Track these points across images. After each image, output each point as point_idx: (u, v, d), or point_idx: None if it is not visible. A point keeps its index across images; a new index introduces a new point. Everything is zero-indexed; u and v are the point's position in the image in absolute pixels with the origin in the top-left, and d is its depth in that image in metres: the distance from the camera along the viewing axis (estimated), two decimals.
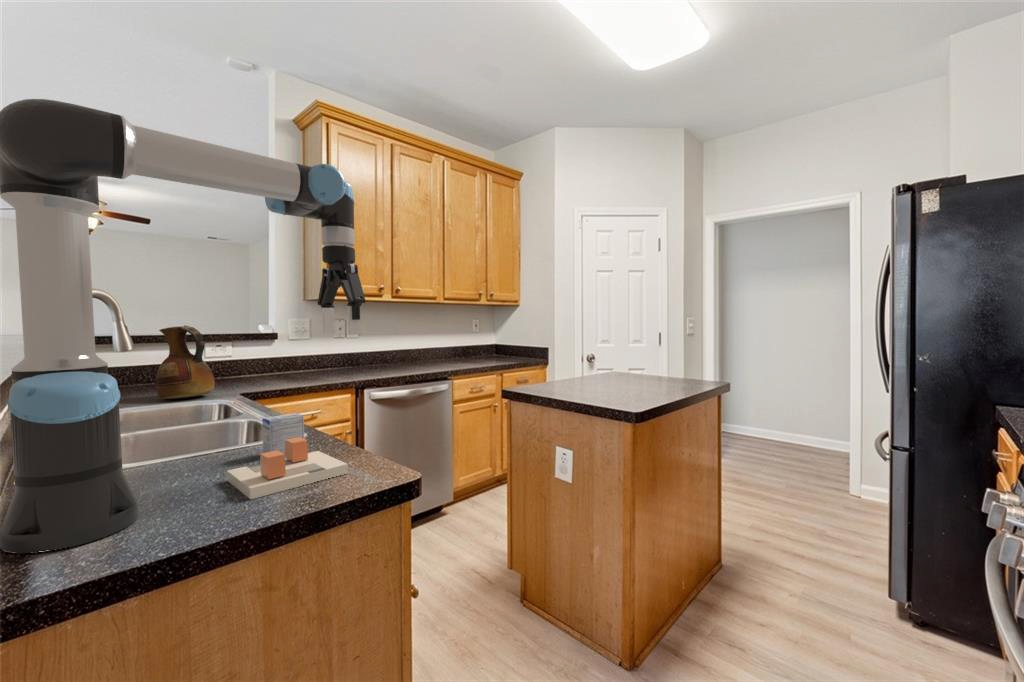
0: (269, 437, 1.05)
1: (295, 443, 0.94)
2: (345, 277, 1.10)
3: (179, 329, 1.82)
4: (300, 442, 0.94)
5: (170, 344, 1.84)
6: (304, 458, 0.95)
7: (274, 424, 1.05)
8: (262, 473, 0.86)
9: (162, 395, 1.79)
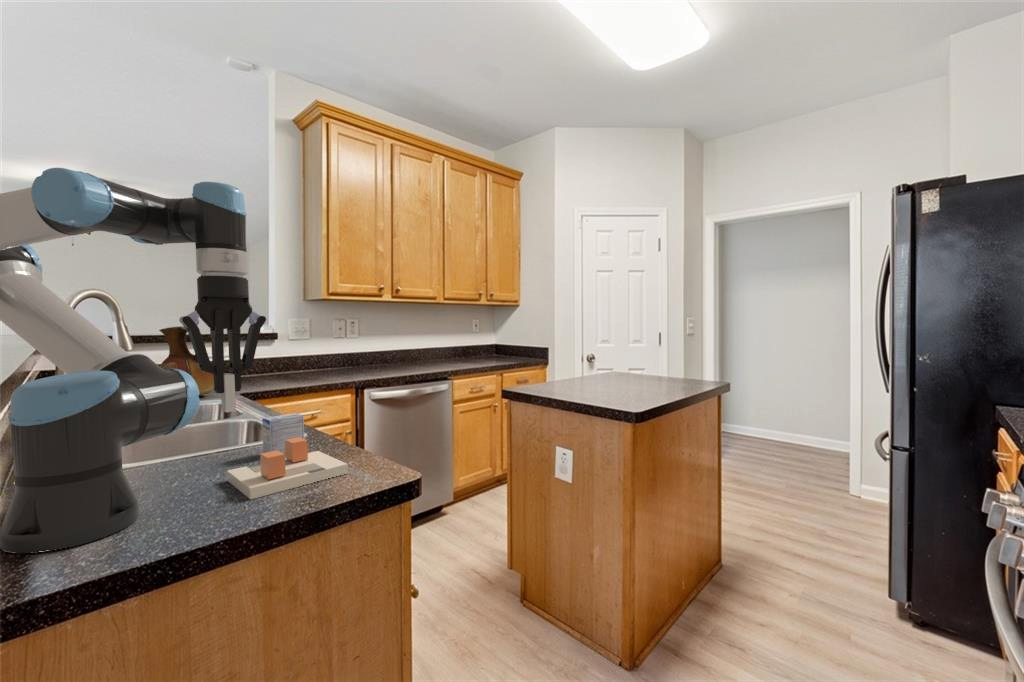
0: (269, 437, 1.05)
1: (295, 443, 0.94)
2: None
3: (179, 329, 1.82)
4: (300, 442, 0.94)
5: (170, 344, 1.84)
6: (304, 458, 0.95)
7: (274, 424, 1.05)
8: (262, 473, 0.86)
9: None
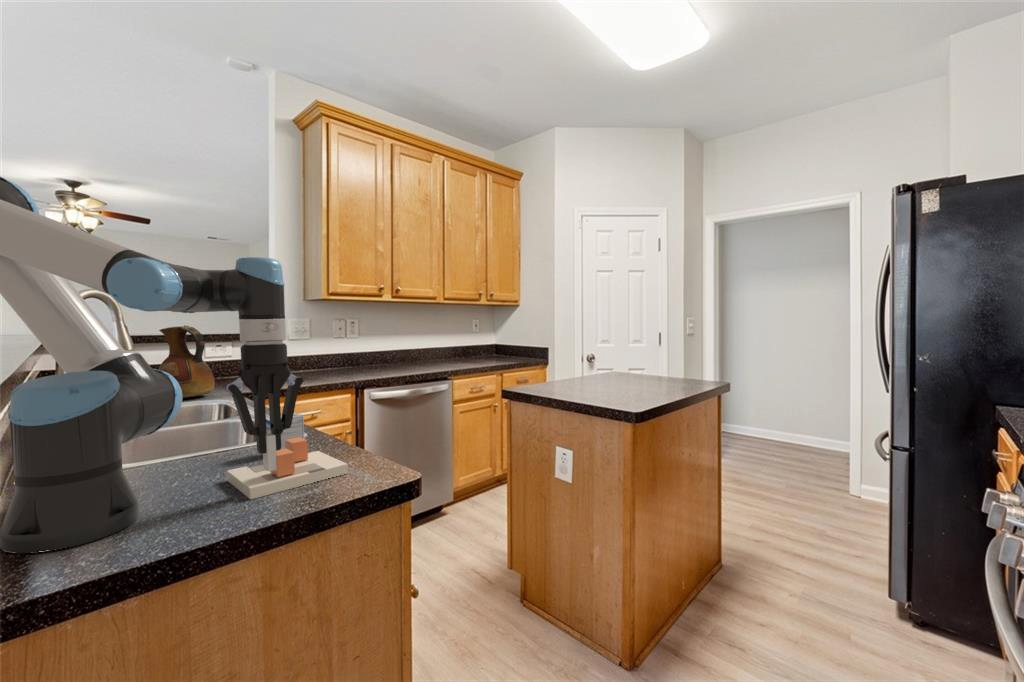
0: None
1: (295, 443, 0.94)
2: None
3: (179, 329, 1.83)
4: (300, 442, 0.94)
5: (170, 344, 1.84)
6: (304, 458, 0.95)
7: None
8: (271, 471, 0.87)
9: None
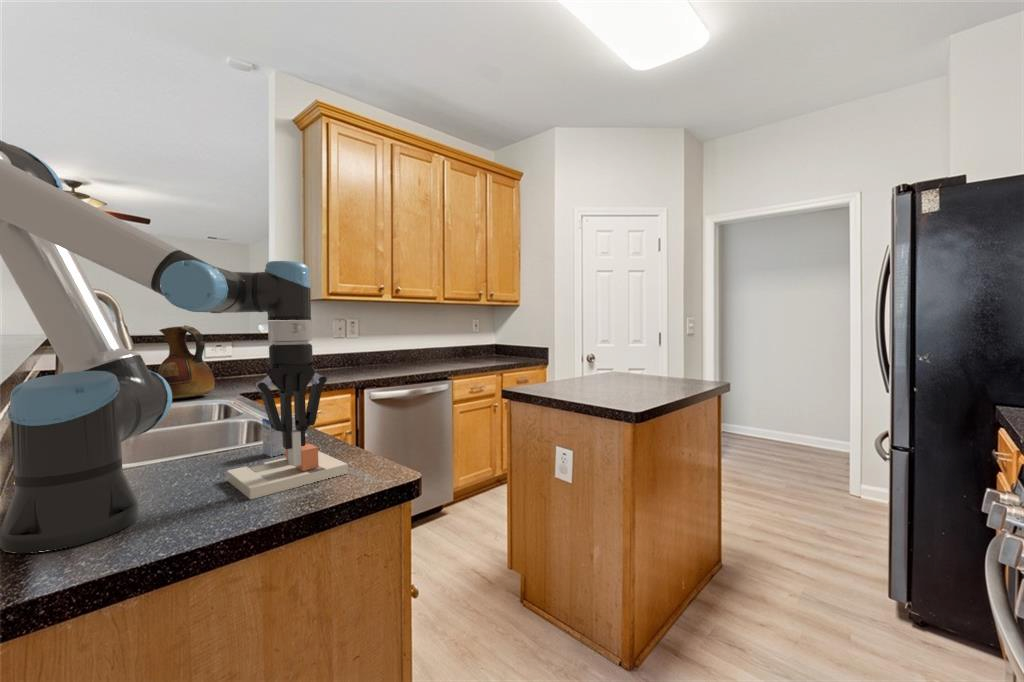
0: (269, 437, 1.05)
1: None
2: None
3: (179, 329, 1.82)
4: None
5: (170, 344, 1.84)
6: None
7: None
8: None
9: None
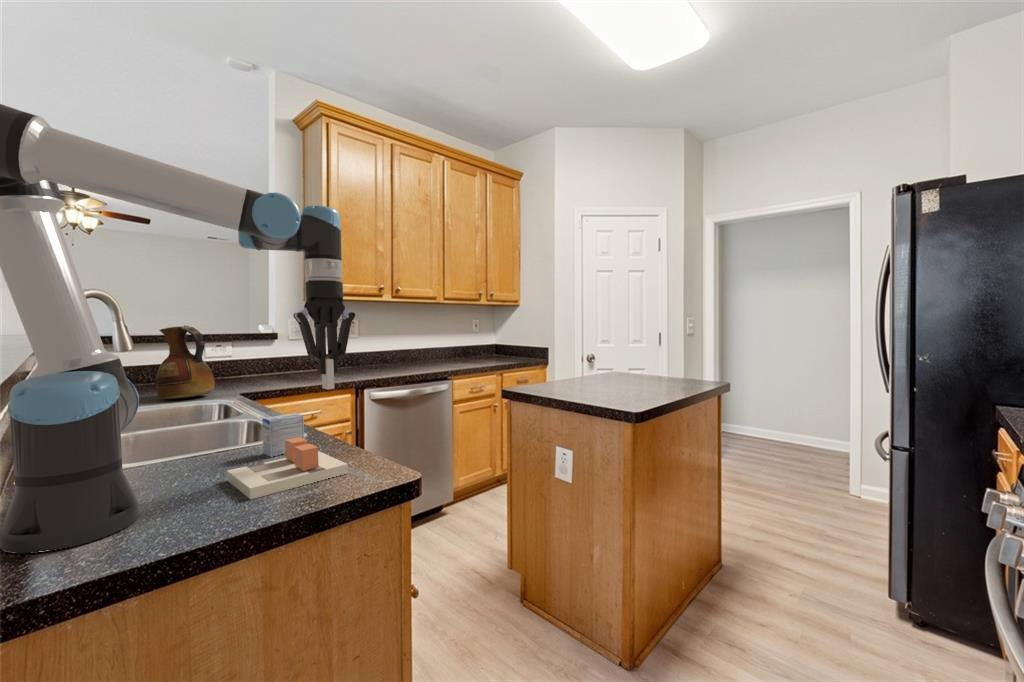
0: (269, 437, 1.05)
1: (295, 443, 0.94)
2: None
3: (179, 329, 1.82)
4: (300, 442, 0.94)
5: (170, 344, 1.84)
6: None
7: (274, 424, 1.05)
8: (296, 465, 0.90)
9: (162, 395, 1.79)
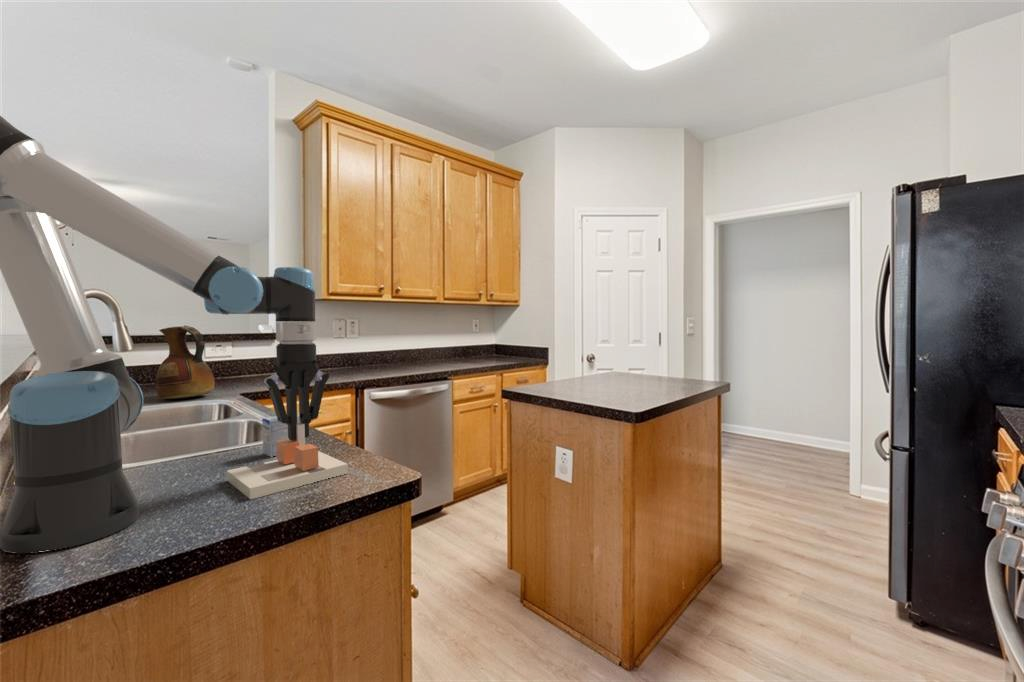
0: (269, 437, 1.05)
1: (286, 445, 0.92)
2: None
3: (179, 329, 1.82)
4: (292, 444, 0.93)
5: (170, 344, 1.84)
6: None
7: (274, 424, 1.05)
8: (296, 465, 0.90)
9: (162, 395, 1.79)
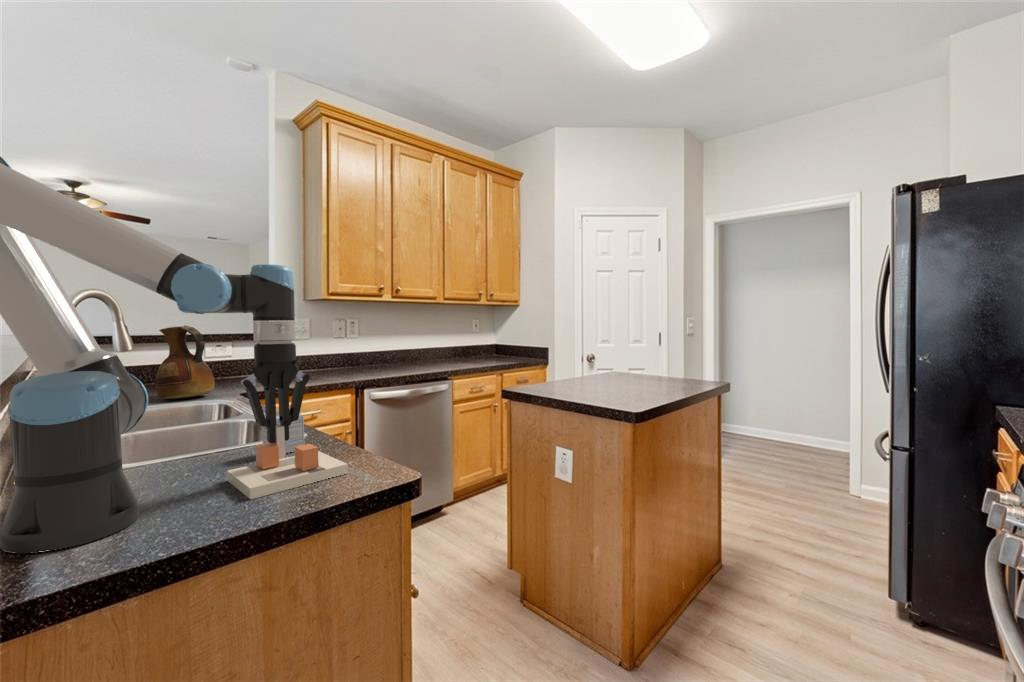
0: None
1: (265, 449, 0.90)
2: None
3: (179, 329, 1.82)
4: (270, 448, 0.90)
5: (170, 344, 1.84)
6: (275, 465, 0.91)
7: None
8: (296, 465, 0.90)
9: (162, 395, 1.79)
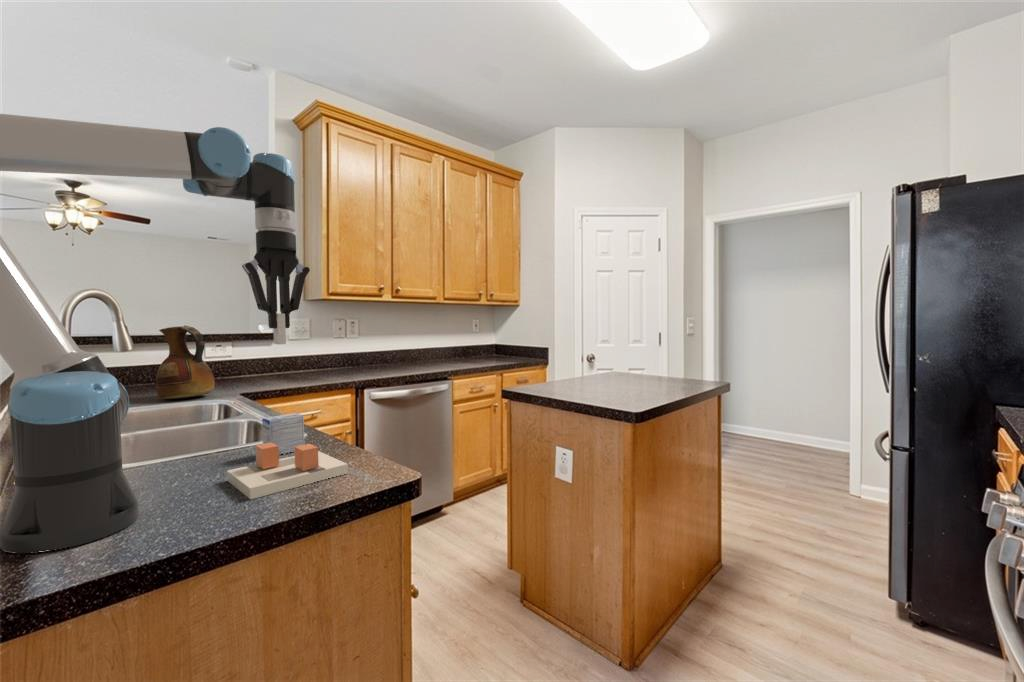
0: (269, 437, 1.05)
1: (265, 449, 0.90)
2: None
3: (179, 329, 1.82)
4: (270, 448, 0.90)
5: (170, 344, 1.84)
6: (275, 465, 0.91)
7: (274, 424, 1.05)
8: (296, 465, 0.90)
9: (162, 395, 1.79)
